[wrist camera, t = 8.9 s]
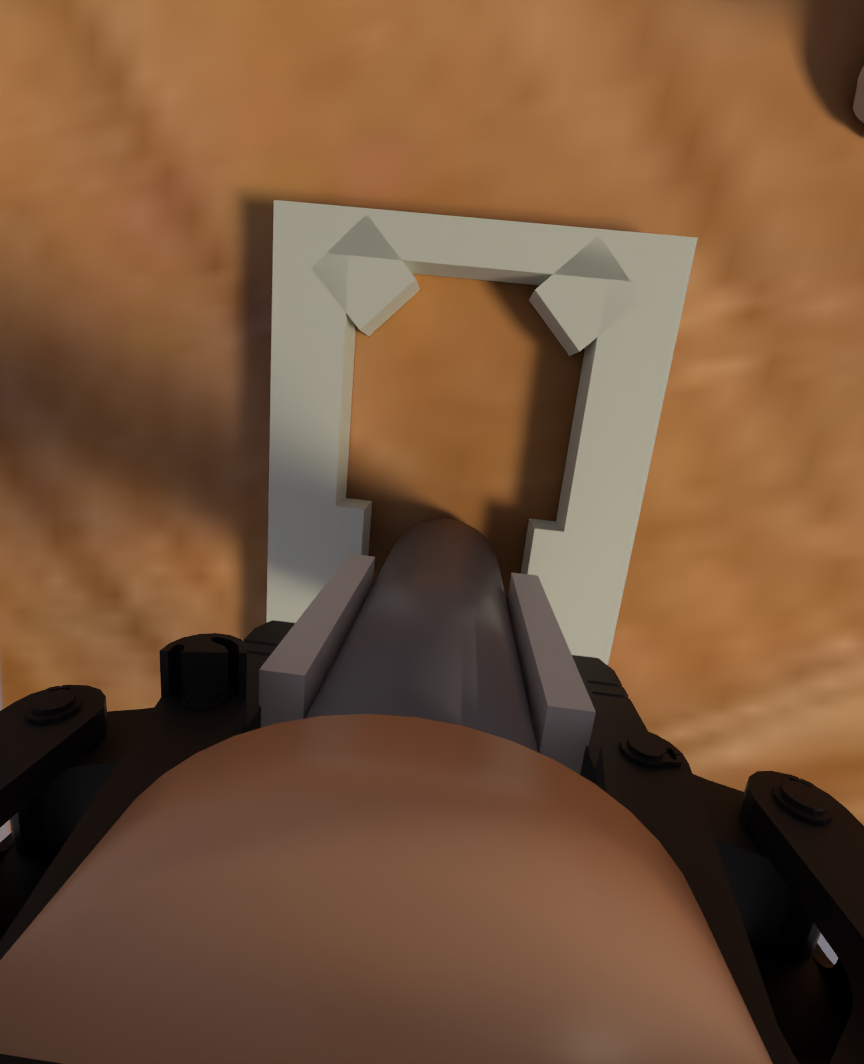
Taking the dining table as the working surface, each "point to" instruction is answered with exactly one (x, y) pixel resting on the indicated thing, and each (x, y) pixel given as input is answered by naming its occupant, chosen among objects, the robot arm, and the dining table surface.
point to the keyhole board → (572, 316)
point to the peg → (382, 879)
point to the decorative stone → (859, 97)
